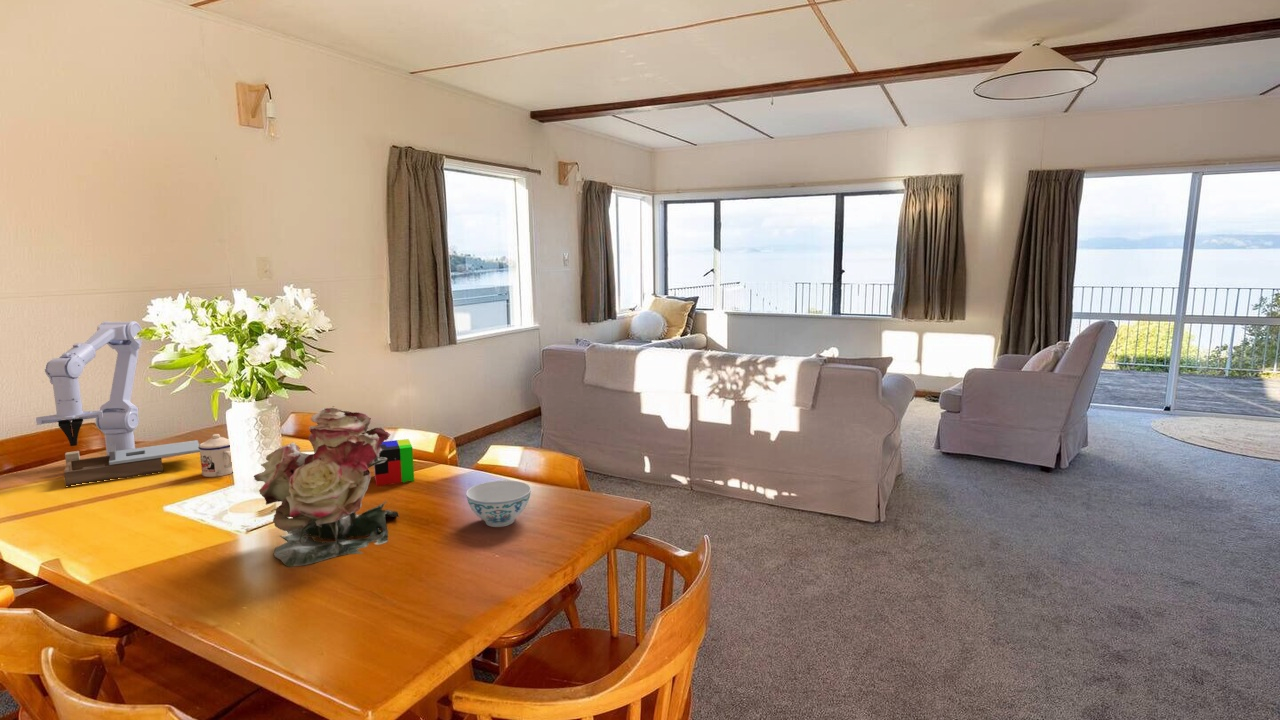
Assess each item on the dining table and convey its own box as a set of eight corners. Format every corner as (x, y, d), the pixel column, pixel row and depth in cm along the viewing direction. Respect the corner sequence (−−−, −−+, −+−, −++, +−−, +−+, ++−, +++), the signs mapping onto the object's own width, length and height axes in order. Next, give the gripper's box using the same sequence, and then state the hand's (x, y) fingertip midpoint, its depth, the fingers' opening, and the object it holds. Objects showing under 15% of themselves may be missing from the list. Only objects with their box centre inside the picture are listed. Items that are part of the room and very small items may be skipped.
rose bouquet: (265, 530, 153) (253, 403, 149) (399, 512, 164) (392, 393, 160) (247, 578, 129) (233, 429, 125) (405, 553, 141) (397, 415, 136)
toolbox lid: (110, 454, 200) (109, 443, 199) (197, 442, 213) (196, 432, 213) (109, 465, 189) (108, 453, 188) (201, 451, 202) (200, 441, 201)
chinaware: (517, 536, 149) (516, 503, 148) (456, 531, 152) (454, 499, 151) (540, 512, 163) (539, 482, 162) (484, 508, 166) (482, 478, 165)
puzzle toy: (374, 476, 193) (372, 442, 191) (410, 471, 197) (408, 438, 195) (376, 486, 184) (374, 451, 182) (414, 481, 188) (412, 447, 186)
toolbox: (69, 475, 195) (67, 461, 194) (161, 461, 208) (160, 448, 207) (65, 487, 184) (63, 472, 183) (162, 472, 197) (161, 458, 196)
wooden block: (68, 472, 198) (65, 452, 197) (81, 470, 200) (79, 450, 199) (67, 474, 195) (64, 454, 195) (80, 472, 197) (78, 453, 196)
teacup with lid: (194, 474, 195) (190, 436, 193) (226, 466, 202) (223, 429, 201) (217, 481, 189) (213, 441, 187) (249, 472, 196) (245, 434, 195)
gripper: (32, 404, 183) (38, 452, 185) (99, 398, 191) (105, 443, 193) (35, 400, 188) (41, 447, 190) (100, 394, 197) (106, 439, 199)
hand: (73, 445), depth 192 cm, fingers closed
